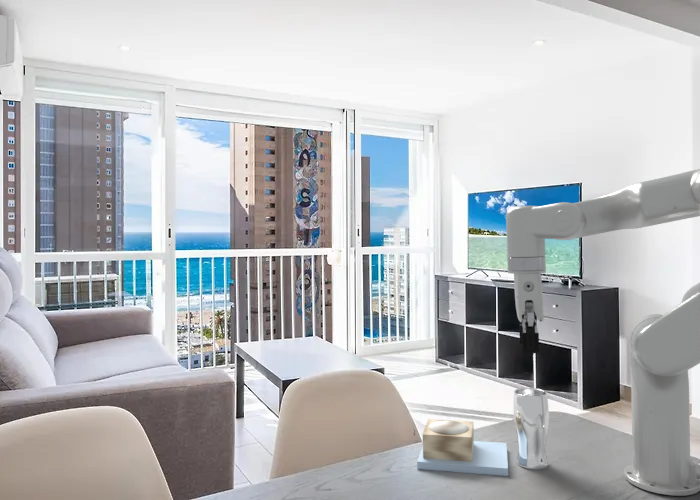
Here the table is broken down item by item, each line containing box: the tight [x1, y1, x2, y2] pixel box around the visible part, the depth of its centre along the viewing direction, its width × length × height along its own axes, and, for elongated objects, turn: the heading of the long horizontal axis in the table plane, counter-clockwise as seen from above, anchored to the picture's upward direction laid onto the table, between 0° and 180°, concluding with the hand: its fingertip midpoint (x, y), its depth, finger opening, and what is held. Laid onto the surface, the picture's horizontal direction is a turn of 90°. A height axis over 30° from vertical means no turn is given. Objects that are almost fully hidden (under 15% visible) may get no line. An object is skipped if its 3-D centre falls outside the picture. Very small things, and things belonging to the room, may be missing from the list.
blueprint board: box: [416, 440, 509, 477], centre depth 116 cm, size 18×14×2 cm
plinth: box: [422, 418, 475, 462], centre depth 117 cm, size 10×10×5 cm
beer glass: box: [513, 387, 550, 471], centre depth 112 cm, size 7×7×15 cm
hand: (529, 348), depth 112 cm, fingers open, 9 cm apart
